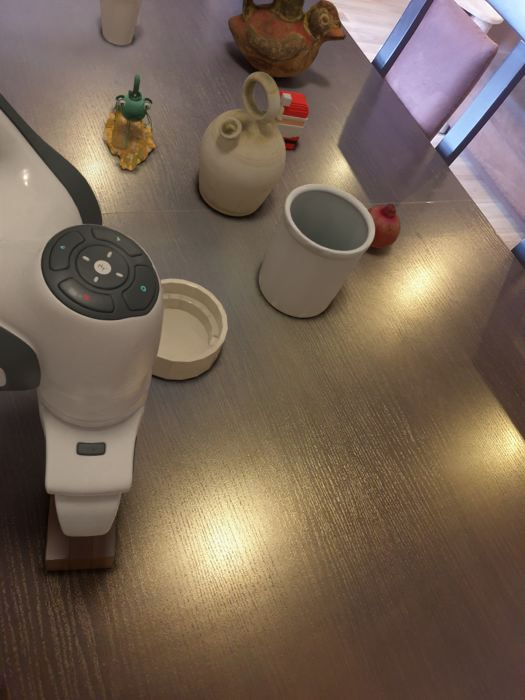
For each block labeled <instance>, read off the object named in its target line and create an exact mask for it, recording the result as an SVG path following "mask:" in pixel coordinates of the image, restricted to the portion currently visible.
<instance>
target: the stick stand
mask: <svg viewBox="0 0 525 700" xmlns="http://www.w3.org/2000/svg"><path fill="white" fill-rule="evenodd" d="M49 495H50V496H49V508H48V519H47V531H46V542H45V553H44V554H45V556H44V563H45V570H46V572H57V571H58V572H59V571H74V570H76V571H77V570H90V569H91V570H92V569H93V570H94V569H110V568H112V567H113V564H114V561H115V559H116V544H117V543H116V542H117V541H116V539H117V536H116V535H117V515H116V516H115V518H114V521H113V523H112V525H111V528H110V530H109V531H108V532H107V533H106V534H103V535H97V536H67V535H65V534H64V533H63V531H62V529H61V526H60V523H59V519H58V515H57V510H56V504H55V494H49Z"/></svg>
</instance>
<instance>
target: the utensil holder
mask: <svg viewBox="0 0 525 700" xmlns="http://www.w3.org/2000/svg"><path fill="white" fill-rule="evenodd" d="M374 236H375V225H374V221H373V219H372V216H371V215H370V213H369V211H368V208H367V207H366V206H365V204H363V203H362V202H361V201H360V200H359V199H358V198H356V197H355V196H354V195H352V194H350V193H349V192H347V191H345V190H344V189H341V188H338V187H335V186H333V185H328V184H320V183H308V184H304V185H301V186H298V187H296V188H294V189H293V190H291V192H290V193H288V195H287V197H286V199H285V201H284V204H283V207H282V213H281V216H280V219H279V221H278V223H277V225H276V227H275V230H274V232H273V235H272V238H271V241H270V242H269V246H268V248H267V251H266V253H265V255H264V259H263V261H262V264H261V267H260V270H259V274H258V286H259V289H260V291H261V294H262V295H263V297H264V299H265V300H266V301H267V302H268V303H269V304H270V305H271V306H272V307H273V308H274V309H276V310H278V311H279V312H282V313H283V314H286V315H288V316H291V317H295V318H312V317H315V316H318V315H320V314H321V313H323V312H324V311H325V310H326V309H327V308H329V305H330V304H331V303H332V301H333V299H335V297H336V296H337V294H338V293H339V291H340V290H341V288H342V287H343V285H344V283H345V282H346V281H347V279H348V277H349V275H350V274H351V273H352V271H353V270H354V268H355V267H356V265H357V264H358V262H359V260H360V259H361V257H362V256H363V254H364V253H366V251H368V249H369V248H370V247H371V246H370V245H371V243H372V241H373V239H374Z"/></svg>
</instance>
